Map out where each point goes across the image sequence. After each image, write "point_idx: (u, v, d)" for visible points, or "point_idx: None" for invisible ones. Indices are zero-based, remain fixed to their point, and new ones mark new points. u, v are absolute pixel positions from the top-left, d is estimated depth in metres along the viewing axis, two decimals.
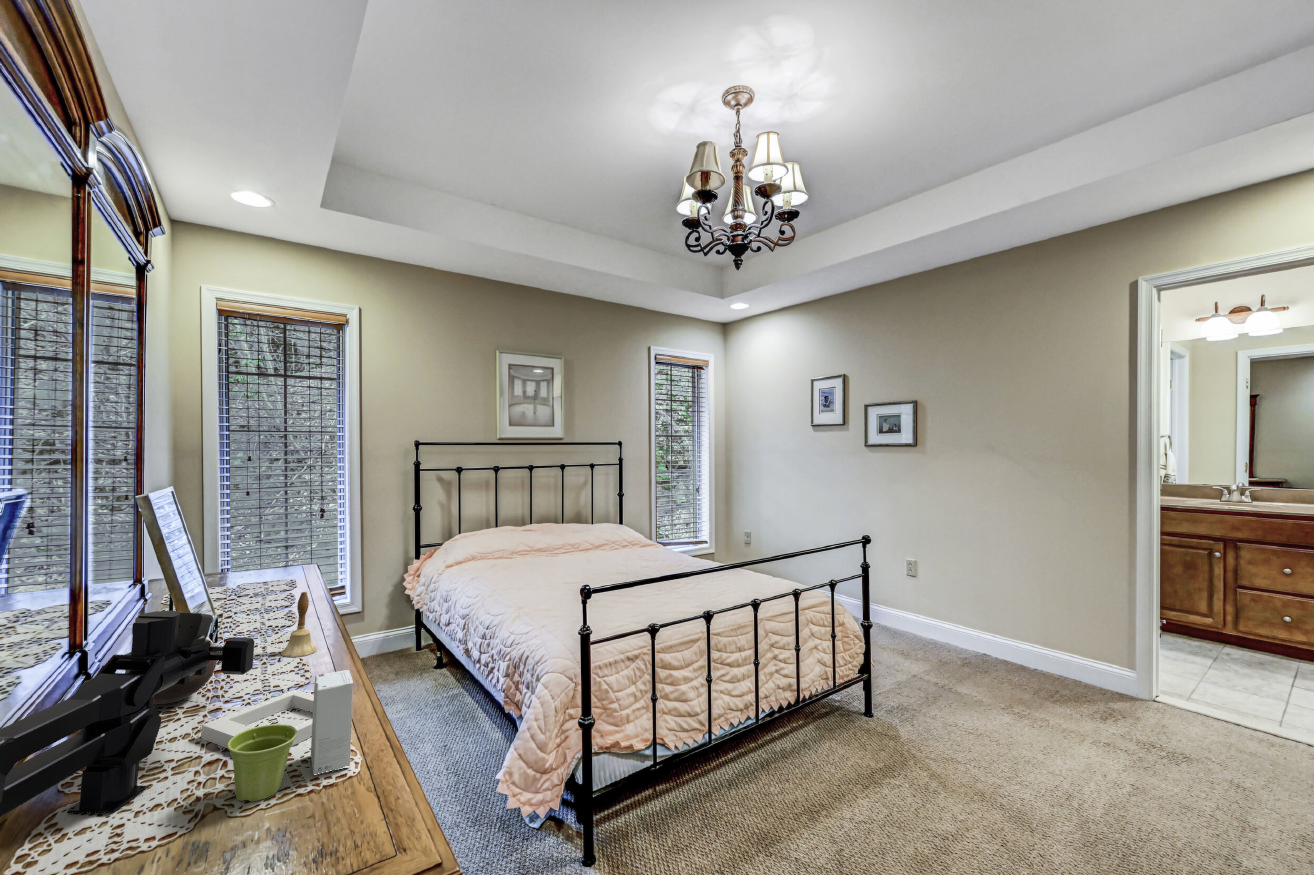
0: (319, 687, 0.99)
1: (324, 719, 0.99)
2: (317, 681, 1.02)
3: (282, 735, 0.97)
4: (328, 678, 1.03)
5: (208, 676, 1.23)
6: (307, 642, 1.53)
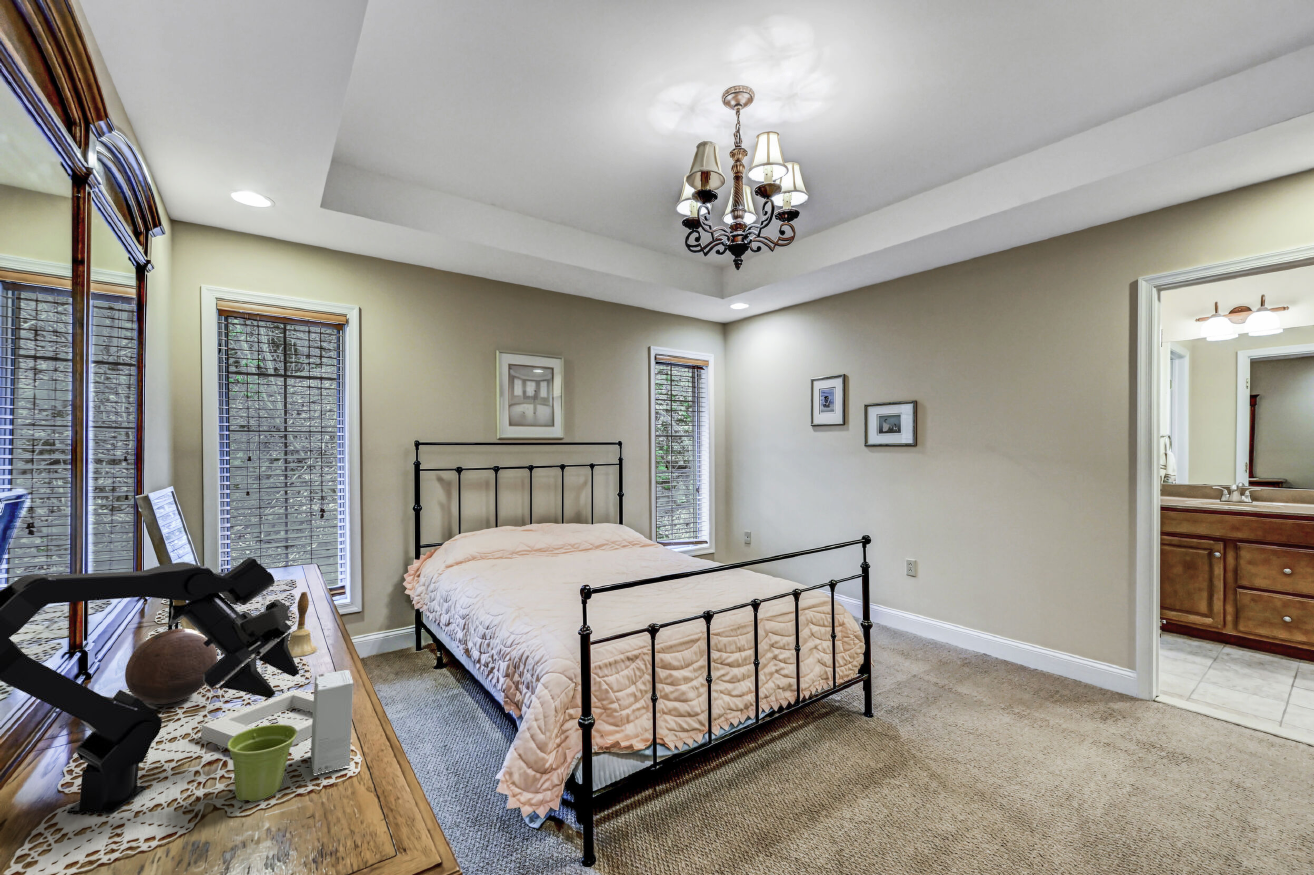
0: (319, 687, 0.99)
1: (324, 719, 0.99)
2: (317, 681, 1.02)
3: (282, 735, 0.97)
4: (328, 678, 1.03)
5: None
6: (307, 642, 1.53)
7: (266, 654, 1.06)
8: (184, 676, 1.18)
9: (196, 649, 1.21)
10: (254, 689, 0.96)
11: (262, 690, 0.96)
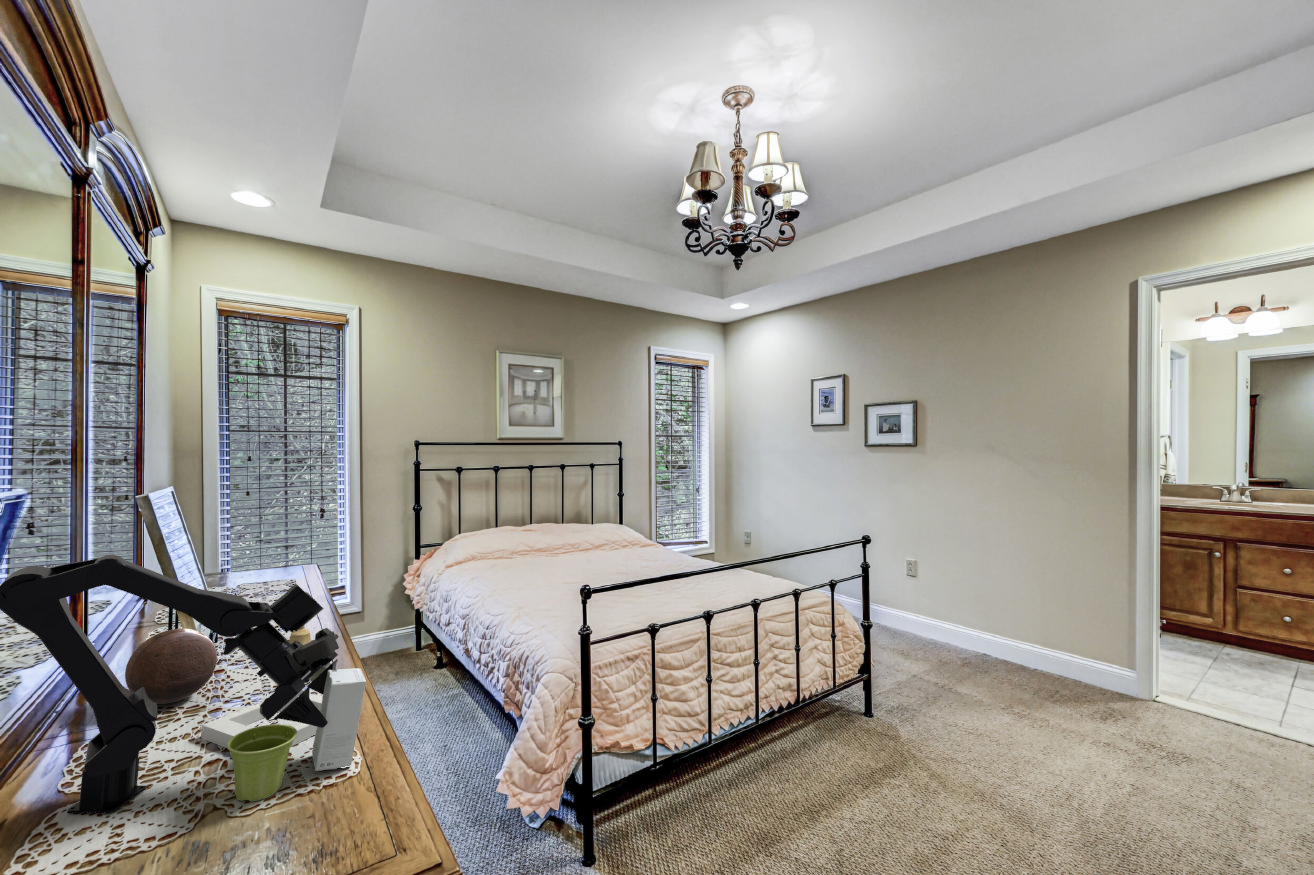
0: (333, 681, 1.00)
1: (333, 715, 0.99)
2: (331, 676, 1.03)
3: (282, 735, 0.97)
4: (342, 674, 1.04)
5: (208, 676, 1.23)
6: (307, 642, 1.53)
7: (315, 682, 1.07)
8: (184, 676, 1.18)
9: (196, 649, 1.21)
10: (308, 719, 0.97)
11: (315, 719, 0.98)
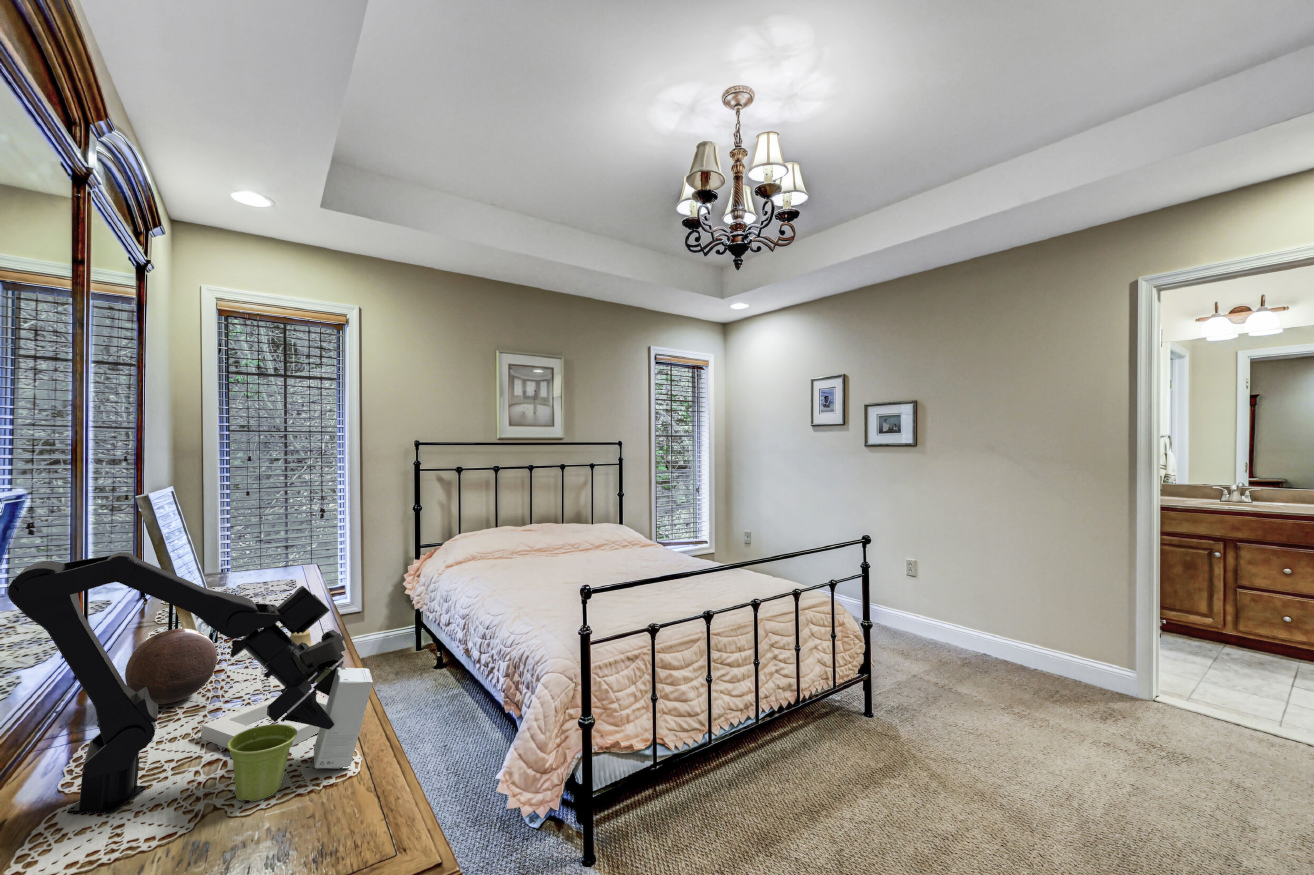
0: (341, 679, 1.01)
1: (338, 713, 1.00)
2: (339, 673, 1.03)
3: (282, 735, 0.97)
4: (350, 673, 1.05)
5: (208, 676, 1.23)
6: (307, 642, 1.53)
7: (321, 683, 1.08)
8: (184, 676, 1.18)
9: (196, 649, 1.21)
10: (314, 721, 0.97)
11: (322, 721, 0.98)
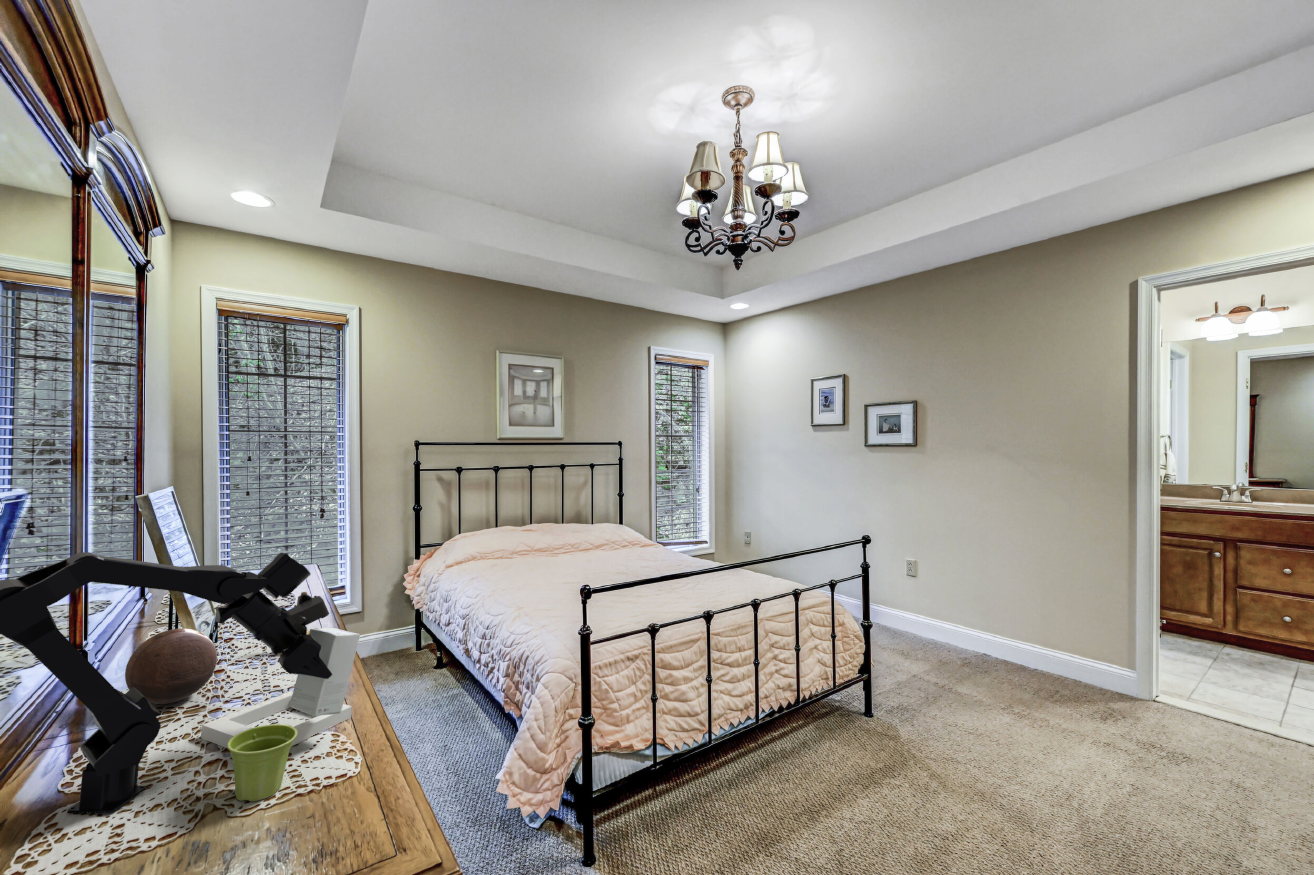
0: (334, 633, 1.10)
1: (333, 664, 1.09)
2: (323, 631, 1.11)
3: (282, 735, 0.97)
4: (330, 630, 1.13)
5: (208, 676, 1.23)
6: None
7: (288, 647, 1.12)
8: (184, 676, 1.18)
9: (196, 649, 1.21)
10: (317, 672, 1.06)
11: (323, 672, 1.07)
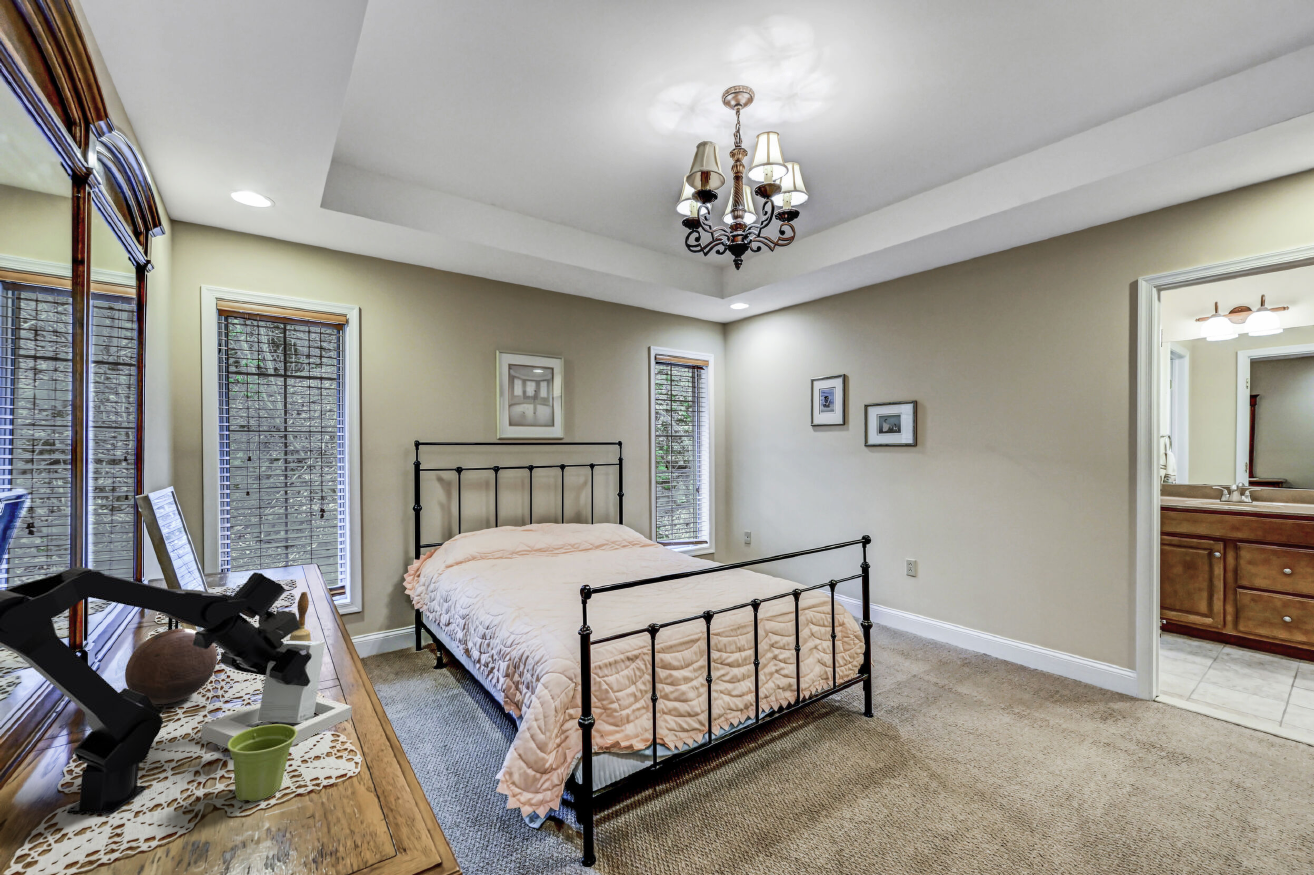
0: (307, 643, 1.15)
1: (309, 672, 1.15)
2: (291, 643, 1.15)
3: (282, 735, 0.97)
4: (295, 642, 1.17)
5: (208, 676, 1.23)
6: None
7: None
8: (184, 676, 1.18)
9: (196, 649, 1.21)
10: (300, 680, 1.11)
11: (304, 680, 1.12)
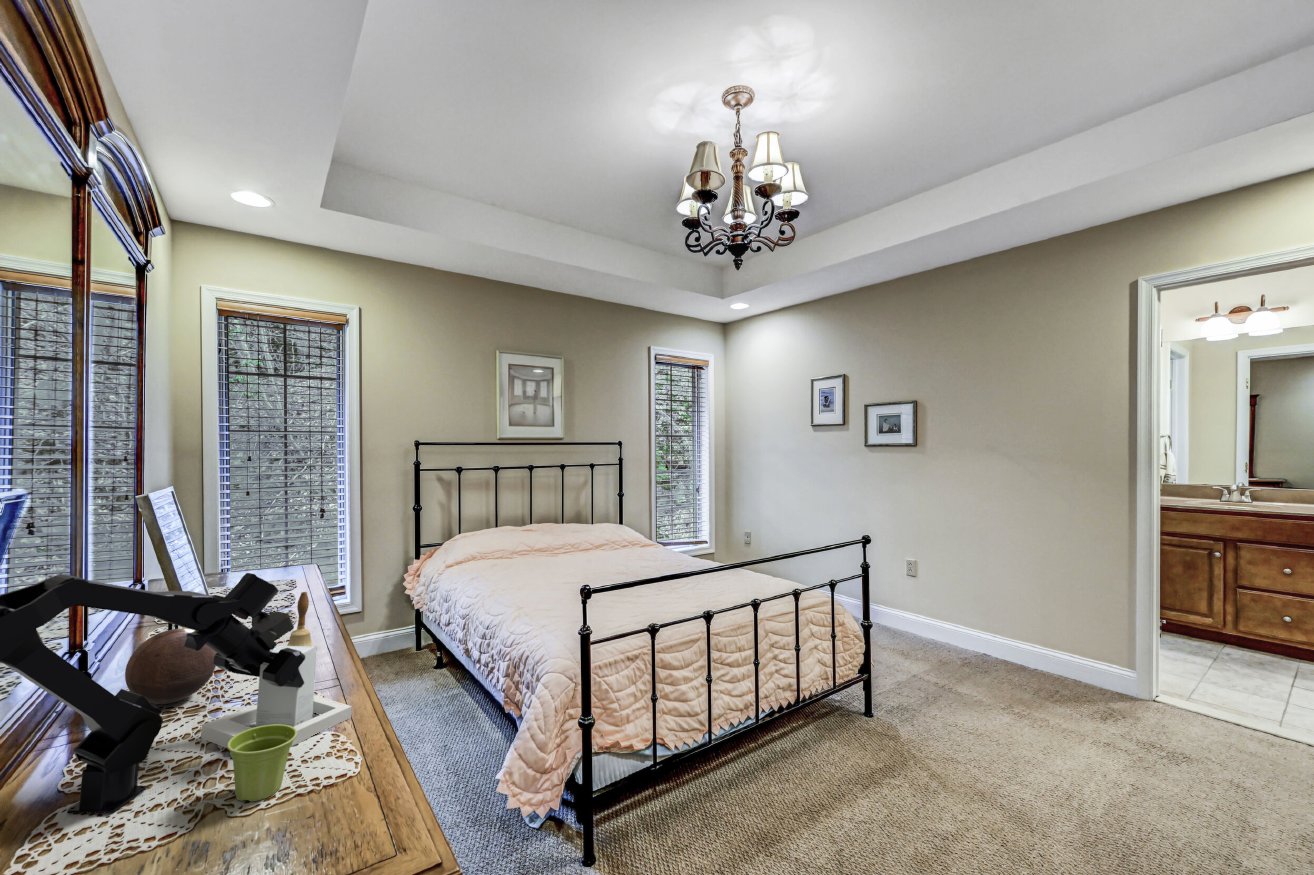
0: None
1: None
2: None
3: (282, 735, 0.97)
4: None
5: (208, 676, 1.23)
6: (307, 642, 1.53)
7: None
8: (184, 676, 1.18)
9: None
10: (294, 682, 1.10)
11: (297, 681, 1.11)
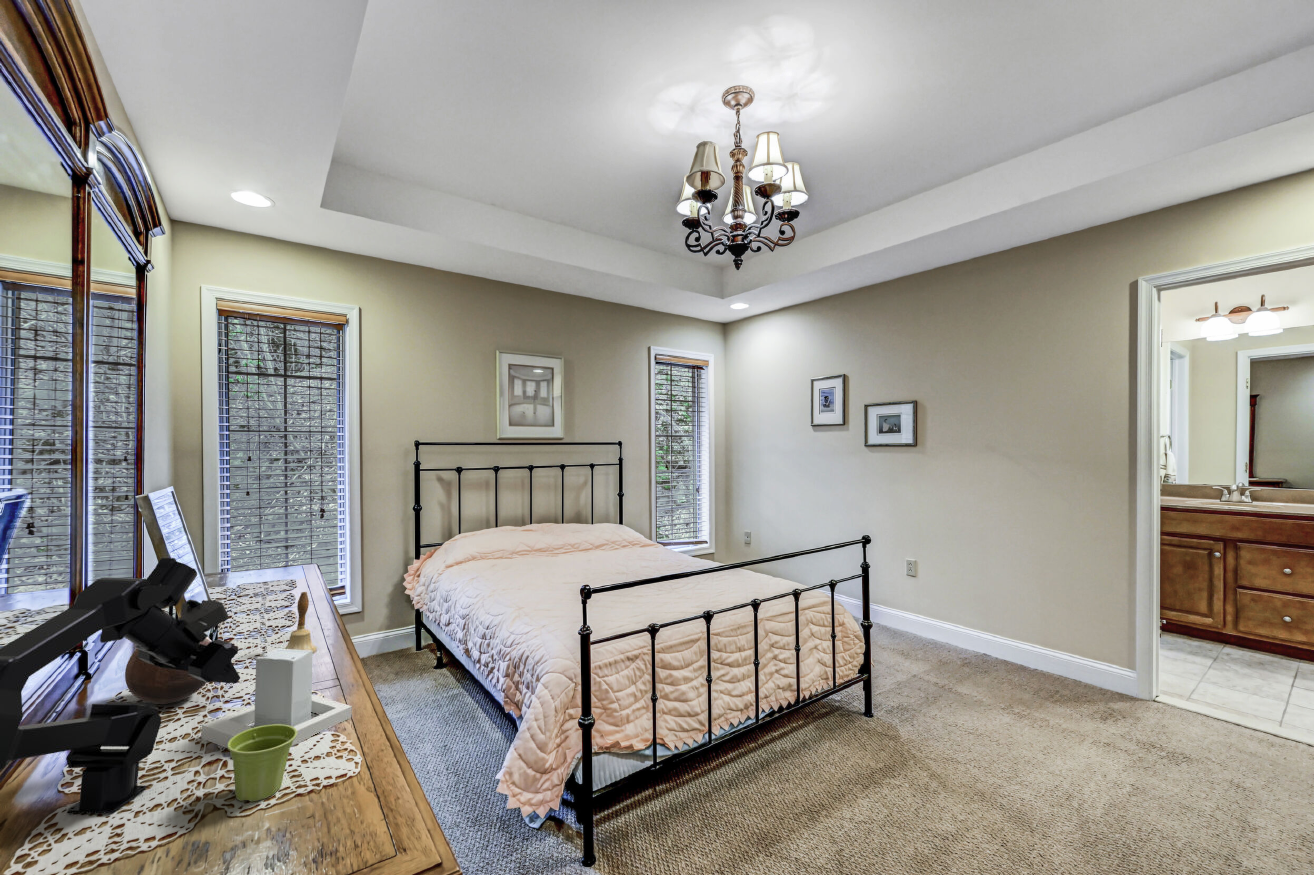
0: (290, 659, 1.11)
1: (296, 685, 1.11)
2: (274, 658, 1.11)
3: (282, 735, 0.97)
4: (280, 654, 1.13)
5: None
6: (307, 642, 1.53)
7: None
8: (184, 676, 1.18)
9: None
10: (227, 677, 1.00)
11: (232, 676, 1.01)
